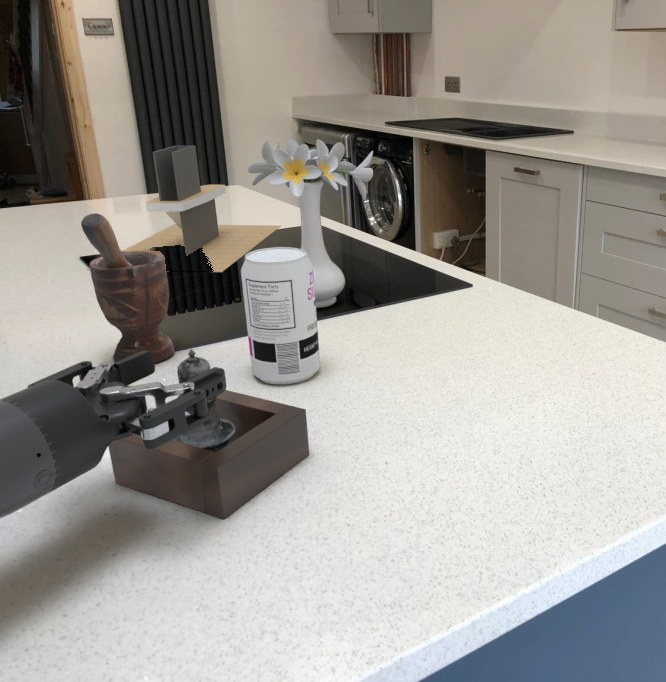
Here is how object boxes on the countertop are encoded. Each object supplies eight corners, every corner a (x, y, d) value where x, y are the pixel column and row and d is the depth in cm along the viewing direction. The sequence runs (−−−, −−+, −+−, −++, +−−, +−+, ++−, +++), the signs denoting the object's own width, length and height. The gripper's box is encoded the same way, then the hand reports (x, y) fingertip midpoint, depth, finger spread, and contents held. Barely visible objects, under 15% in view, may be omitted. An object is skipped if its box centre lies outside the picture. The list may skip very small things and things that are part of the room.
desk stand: (115, 483, 67) (105, 434, 65) (209, 427, 77) (203, 384, 75) (224, 519, 62) (217, 468, 60) (309, 454, 72) (306, 408, 70)
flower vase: (389, 304, 115) (383, 140, 106) (272, 322, 107) (256, 147, 98) (360, 282, 126) (353, 132, 117) (252, 298, 118) (235, 138, 109)
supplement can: (241, 371, 91) (227, 253, 85) (300, 354, 96) (291, 242, 90) (271, 392, 85) (258, 268, 80) (333, 374, 90) (325, 255, 85)
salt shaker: (162, 470, 69) (141, 353, 65) (212, 444, 74) (196, 333, 69) (202, 489, 66) (184, 367, 62) (252, 461, 71) (239, 346, 66)
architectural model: (173, 224, 169) (161, 136, 162) (281, 225, 168) (273, 136, 161) (86, 269, 134) (65, 159, 127) (221, 272, 132) (208, 160, 125)
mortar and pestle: (179, 373, 90) (154, 212, 83) (102, 383, 88) (70, 217, 80) (178, 341, 100) (156, 194, 93) (110, 349, 98) (82, 199, 90)
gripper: (73, 425, 48) (243, 342, 61) (-61, 384, 53) (122, 317, 67) (94, 522, 50) (252, 422, 64) (-35, 473, 56) (135, 391, 70)
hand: (185, 368), depth 65 cm, fingers open, 8 cm apart
